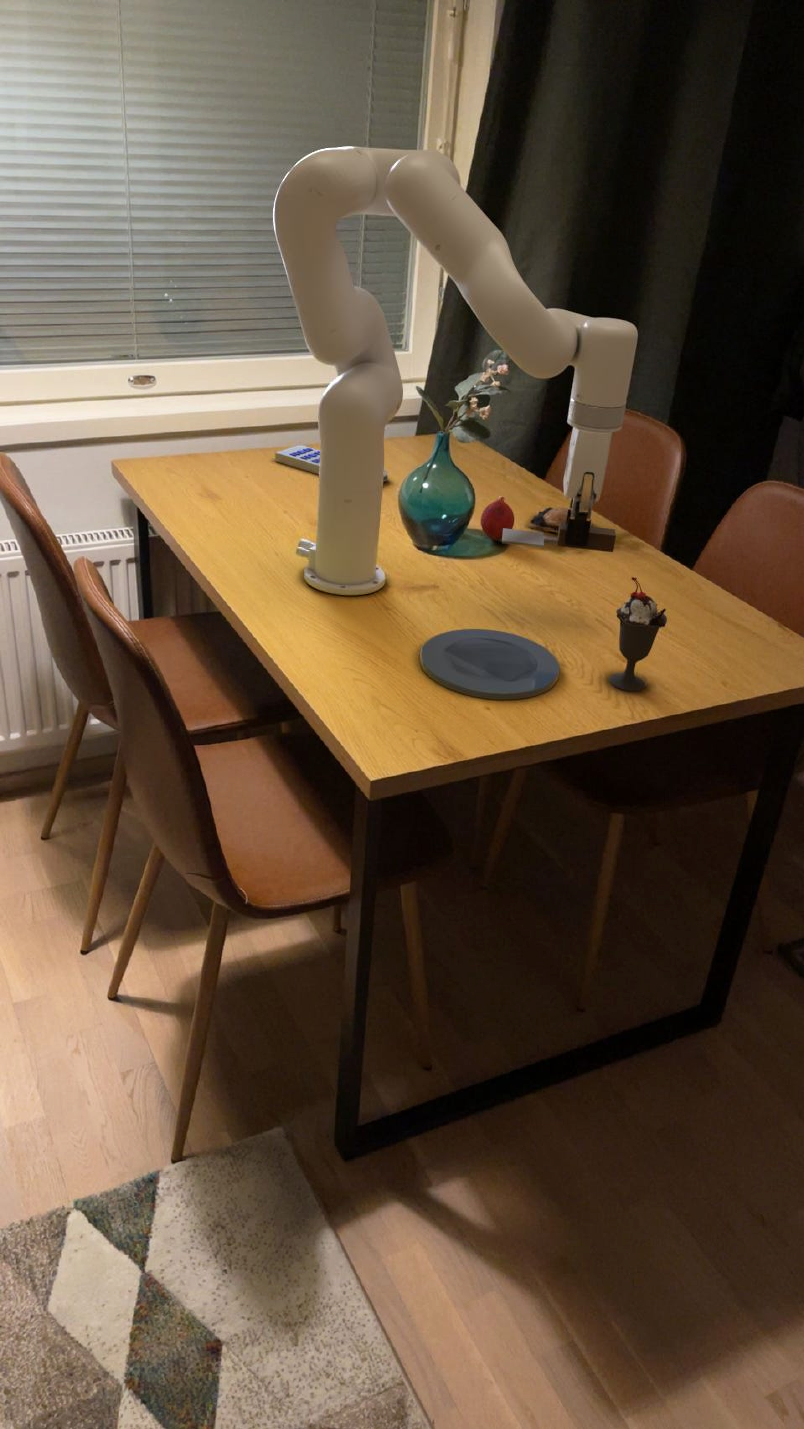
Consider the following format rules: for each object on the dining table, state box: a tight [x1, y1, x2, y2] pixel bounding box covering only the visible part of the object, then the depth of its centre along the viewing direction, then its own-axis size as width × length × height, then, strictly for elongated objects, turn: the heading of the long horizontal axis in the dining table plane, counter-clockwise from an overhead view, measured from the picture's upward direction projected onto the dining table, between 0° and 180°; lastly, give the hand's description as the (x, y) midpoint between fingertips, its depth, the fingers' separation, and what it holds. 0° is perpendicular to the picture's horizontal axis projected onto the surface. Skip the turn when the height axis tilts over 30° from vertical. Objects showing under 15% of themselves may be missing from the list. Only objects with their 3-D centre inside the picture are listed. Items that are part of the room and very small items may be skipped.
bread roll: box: [528, 506, 594, 534], centre depth 203 cm, size 11×8×4 cm
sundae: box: [608, 576, 668, 692], centre depth 149 cm, size 7×7×15 cm
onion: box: [480, 495, 515, 542], centre depth 193 cm, size 6×6×8 cm
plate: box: [419, 628, 560, 701], centre depth 153 cm, size 19×19×1 cm
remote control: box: [274, 444, 389, 483], centre depth 220 cm, size 8×23×2 cm, turn 56°
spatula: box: [501, 523, 617, 553], centre depth 163 cm, size 16×5×3 cm, turn 84°
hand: (575, 540), depth 163 cm, fingers closed on spatula, 2 cm apart
